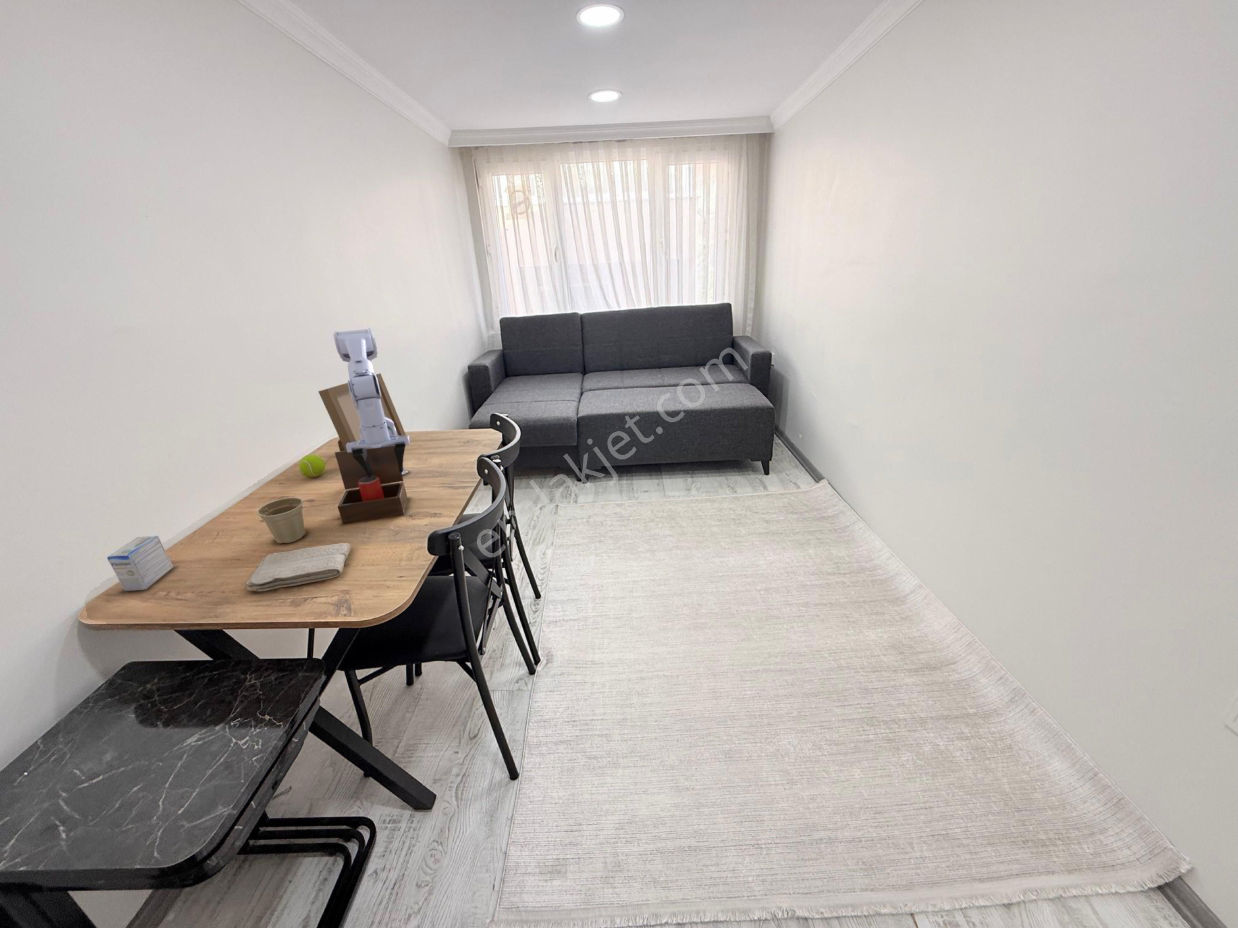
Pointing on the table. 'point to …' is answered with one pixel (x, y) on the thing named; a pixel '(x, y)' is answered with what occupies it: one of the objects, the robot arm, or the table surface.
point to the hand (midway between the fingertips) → (386, 473)
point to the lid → (380, 463)
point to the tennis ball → (312, 465)
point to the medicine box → (140, 563)
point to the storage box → (373, 504)
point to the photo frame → (354, 412)
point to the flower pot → (284, 519)
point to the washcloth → (299, 567)
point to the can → (370, 488)
